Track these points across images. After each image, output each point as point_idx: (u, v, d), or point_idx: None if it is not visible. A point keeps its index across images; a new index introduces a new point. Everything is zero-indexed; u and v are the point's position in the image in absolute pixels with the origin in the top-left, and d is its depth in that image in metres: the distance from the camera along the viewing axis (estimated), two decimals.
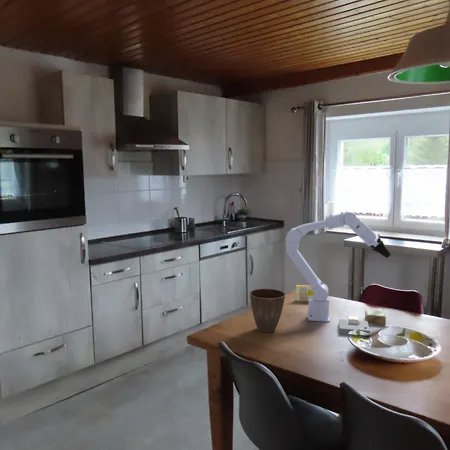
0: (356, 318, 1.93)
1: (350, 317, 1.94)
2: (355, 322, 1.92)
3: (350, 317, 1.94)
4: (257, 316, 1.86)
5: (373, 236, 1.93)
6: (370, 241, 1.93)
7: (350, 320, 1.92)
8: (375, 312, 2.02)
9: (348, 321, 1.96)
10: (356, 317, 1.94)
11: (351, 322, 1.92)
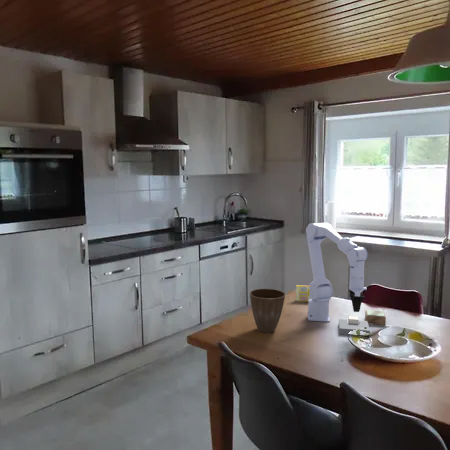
0: (356, 318, 1.93)
1: (350, 317, 1.94)
2: (355, 322, 1.92)
3: (350, 317, 1.94)
4: (257, 316, 1.86)
5: (360, 286, 1.82)
6: (354, 287, 1.82)
7: (350, 320, 1.92)
8: (375, 312, 2.02)
9: (348, 321, 1.96)
10: (356, 317, 1.94)
11: (351, 322, 1.92)
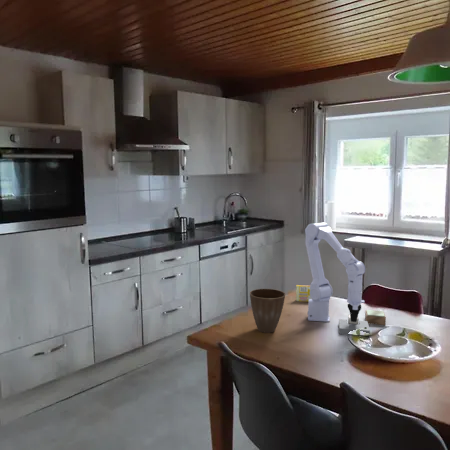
0: None
1: None
2: None
3: (349, 316, 1.95)
4: (257, 316, 1.86)
5: (358, 299, 1.88)
6: (352, 301, 1.88)
7: (350, 319, 1.93)
8: (375, 312, 2.02)
9: (348, 320, 1.97)
10: None
11: None
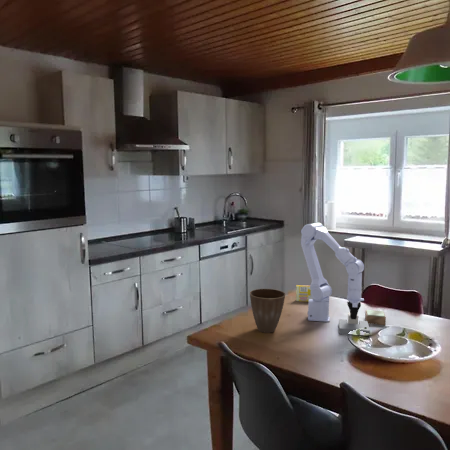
0: None
1: None
2: None
3: (349, 314, 1.98)
4: (257, 316, 1.86)
5: (358, 297, 1.91)
6: (352, 298, 1.92)
7: (350, 316, 1.96)
8: (375, 312, 2.02)
9: None
10: None
11: None
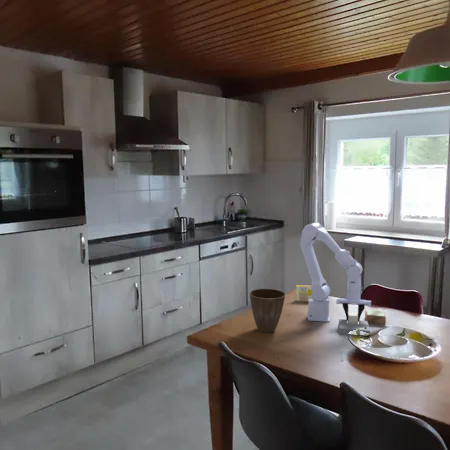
0: (355, 315, 1.97)
1: (350, 314, 1.98)
2: (354, 318, 1.96)
3: (349, 314, 1.98)
4: (257, 316, 1.86)
5: (348, 298, 1.96)
6: None
7: (350, 316, 1.96)
8: (375, 312, 2.02)
9: None
10: (355, 314, 1.99)
11: (351, 318, 1.96)
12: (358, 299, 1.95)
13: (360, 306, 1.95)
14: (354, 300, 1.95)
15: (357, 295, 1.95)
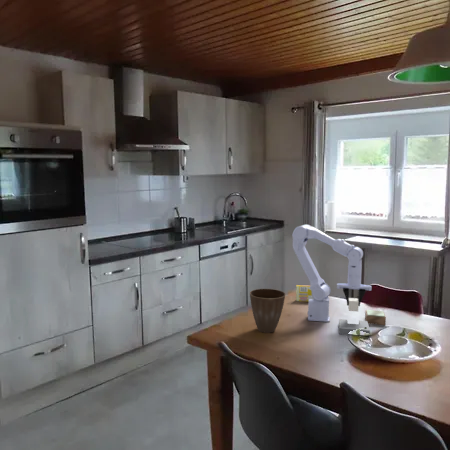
0: (356, 300, 1.96)
1: (350, 299, 1.98)
2: (355, 304, 1.95)
3: (350, 299, 1.97)
4: (257, 316, 1.86)
5: (348, 283, 1.96)
6: None
7: (350, 302, 1.95)
8: (375, 312, 2.02)
9: None
10: (356, 299, 1.98)
11: (351, 304, 1.95)
12: (359, 283, 1.94)
13: (361, 291, 1.95)
14: (355, 284, 1.94)
15: (358, 279, 1.94)
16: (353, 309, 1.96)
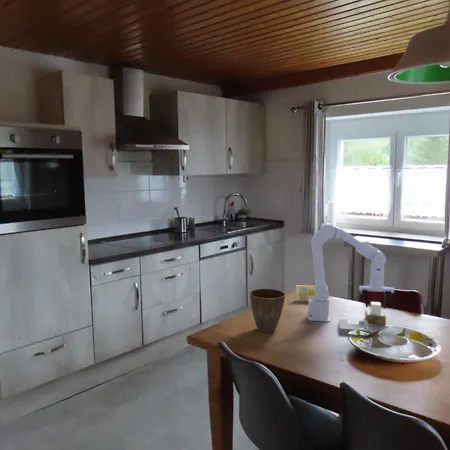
0: (378, 304, 2.00)
1: (372, 303, 2.01)
2: (377, 307, 1.99)
3: (372, 303, 2.01)
4: (257, 316, 1.86)
5: (371, 285, 1.99)
6: None
7: (373, 305, 1.99)
8: None
9: None
10: (378, 303, 2.01)
11: (374, 307, 1.99)
12: (381, 286, 1.98)
13: (387, 293, 1.98)
14: (377, 287, 1.97)
15: (380, 282, 1.97)
16: (376, 312, 1.99)
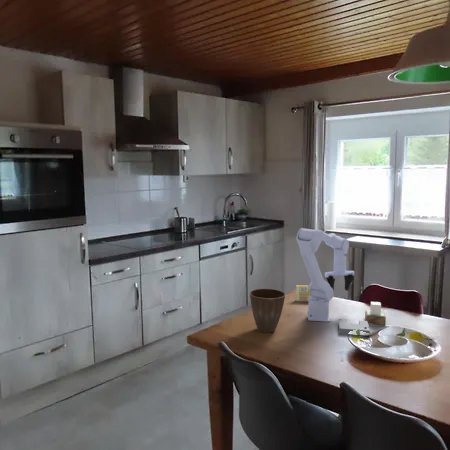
0: (378, 304, 2.00)
1: (372, 303, 2.01)
2: (377, 307, 1.99)
3: (372, 303, 2.01)
4: (257, 316, 1.86)
5: (336, 270, 2.11)
6: (333, 271, 2.13)
7: (373, 305, 1.99)
8: None
9: None
10: (378, 303, 2.01)
11: (374, 307, 1.99)
12: (345, 270, 2.12)
13: (349, 276, 2.13)
14: (343, 271, 2.11)
15: (345, 266, 2.11)
16: (376, 312, 1.99)
